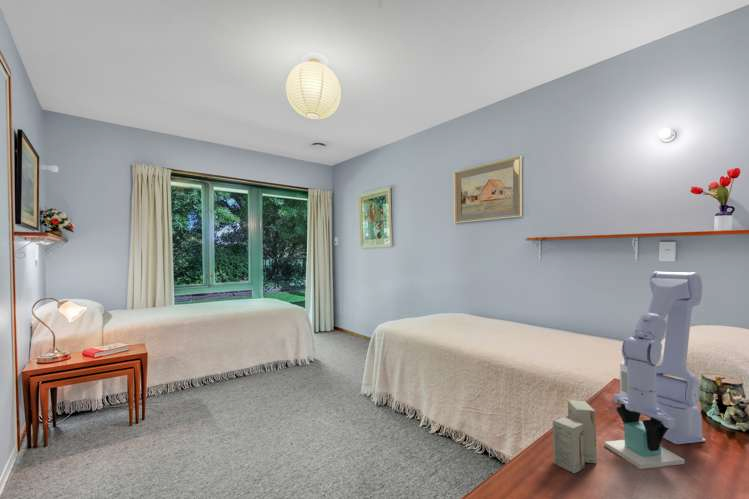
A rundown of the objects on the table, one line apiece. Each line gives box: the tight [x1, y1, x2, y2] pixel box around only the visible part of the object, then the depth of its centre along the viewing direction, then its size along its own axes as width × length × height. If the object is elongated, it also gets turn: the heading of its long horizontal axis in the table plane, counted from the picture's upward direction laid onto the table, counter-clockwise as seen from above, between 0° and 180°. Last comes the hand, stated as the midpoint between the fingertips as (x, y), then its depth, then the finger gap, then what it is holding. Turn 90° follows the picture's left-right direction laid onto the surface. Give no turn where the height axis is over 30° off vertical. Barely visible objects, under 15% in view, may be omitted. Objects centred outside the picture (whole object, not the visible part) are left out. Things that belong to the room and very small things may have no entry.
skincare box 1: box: [552, 416, 586, 474], centre depth 81 cm, size 5×4×10 cm
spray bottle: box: [619, 360, 628, 397], centre depth 120 cm, size 7×7×18 cm
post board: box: [604, 439, 686, 470], centre depth 86 cm, size 12×10×4 cm
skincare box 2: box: [567, 399, 598, 464], centre depth 85 cm, size 6×4×12 cm
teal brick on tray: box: [623, 420, 662, 456], centre depth 86 cm, size 5×5×6 cm
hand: (642, 443), depth 86 cm, fingers closed on teal brick on tray, 5 cm apart
